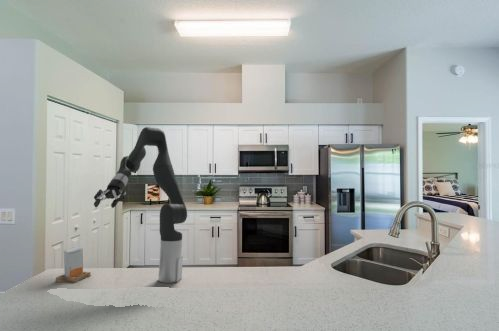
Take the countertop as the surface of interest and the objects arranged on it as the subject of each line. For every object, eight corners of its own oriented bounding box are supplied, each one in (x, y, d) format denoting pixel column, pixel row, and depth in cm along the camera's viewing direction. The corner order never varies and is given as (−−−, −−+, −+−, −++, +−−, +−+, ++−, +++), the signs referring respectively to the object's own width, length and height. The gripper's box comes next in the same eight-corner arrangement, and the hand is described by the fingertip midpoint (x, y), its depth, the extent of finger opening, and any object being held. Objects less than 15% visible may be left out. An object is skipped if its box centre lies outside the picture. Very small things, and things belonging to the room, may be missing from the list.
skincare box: (68, 280, 113) (67, 252, 112) (64, 276, 115) (63, 249, 115) (84, 274, 118) (83, 248, 117) (80, 271, 120) (79, 245, 119)
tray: (90, 276, 120) (90, 272, 121) (76, 282, 111) (76, 278, 112) (71, 275, 121) (71, 271, 121) (55, 281, 112) (55, 277, 112)
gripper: (102, 178, 141) (86, 200, 129) (128, 178, 140) (115, 201, 128) (107, 188, 146) (92, 211, 133) (133, 189, 145) (120, 211, 133)
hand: (103, 206), depth 131 cm, fingers open, 8 cm apart
